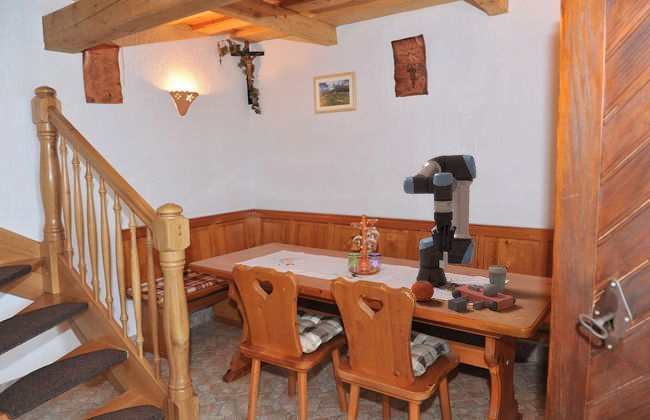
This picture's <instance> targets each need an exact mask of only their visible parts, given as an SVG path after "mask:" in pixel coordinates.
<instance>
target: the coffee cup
mask: <svg viewBox="0 0 650 420" xmlns="http://www.w3.org/2000/svg"><path fill="white" fill-rule="evenodd" d="M487 271H488V277H489V279H488V280H489V284H494V285H497V286H498V293H501V294H504V293H505V287H506V281H507V280H506V279H507V273H508V270H507V267H506V266H505V265H499V264H494V265H489V266H488V269H487Z"/></svg>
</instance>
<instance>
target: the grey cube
mask: <svg viewBox="0 0 650 420" xmlns="http://www.w3.org/2000/svg"><path fill="white" fill-rule="evenodd" d="M447 309H448V310H451V311H453V312H456V313H457V312H460V311H464V310H467V309H468V301H467V300H464V299H461V298H459V297H458V298H451V299H448V300H447Z"/></svg>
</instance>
